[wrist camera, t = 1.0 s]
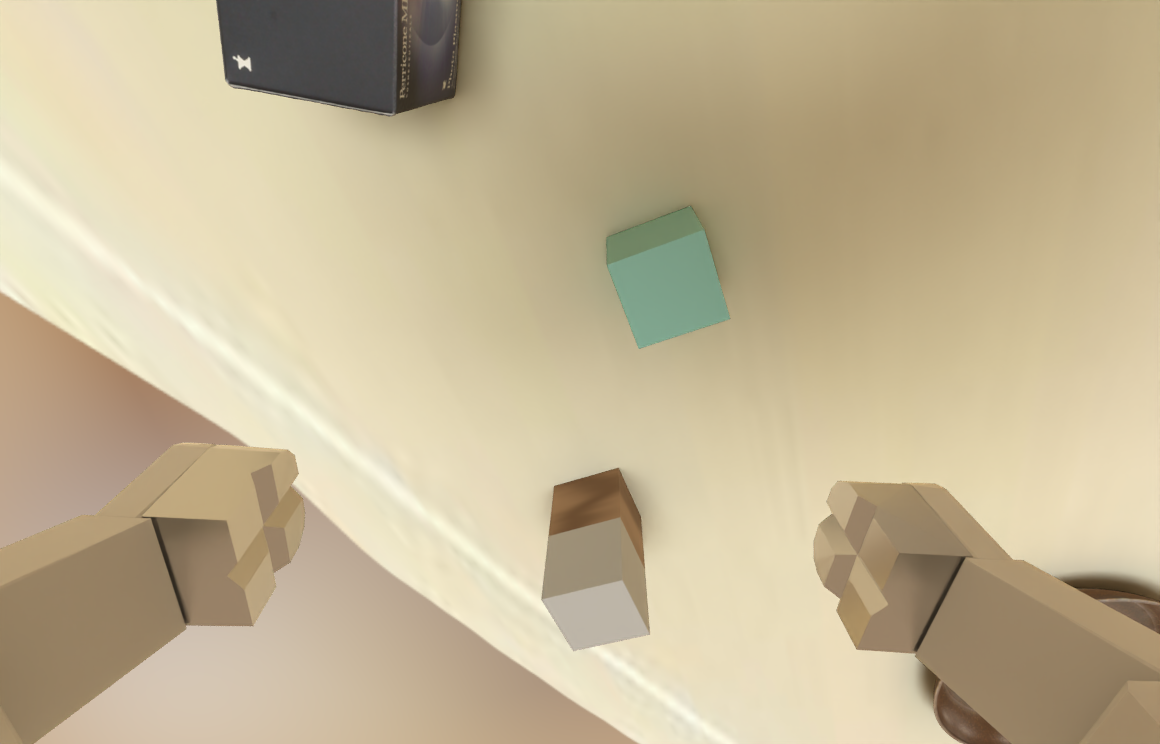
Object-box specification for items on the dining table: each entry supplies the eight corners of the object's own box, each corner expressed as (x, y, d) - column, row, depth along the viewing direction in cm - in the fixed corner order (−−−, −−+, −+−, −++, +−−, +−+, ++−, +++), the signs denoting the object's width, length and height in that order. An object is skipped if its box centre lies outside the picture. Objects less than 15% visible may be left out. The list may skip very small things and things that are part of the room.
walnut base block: (618, 467, 41) (620, 517, 37) (640, 516, 43) (644, 569, 39) (554, 486, 42) (548, 536, 38) (579, 533, 44) (576, 585, 40)
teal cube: (690, 205, 32) (704, 229, 28) (714, 285, 34) (730, 318, 30) (606, 237, 33) (606, 265, 29) (634, 312, 35) (638, 348, 31)
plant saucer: (1226, 564, 44) (1270, 600, 41) (1119, 719, 54) (1149, 757, 51) (947, 569, 45) (971, 604, 42) (893, 720, 55) (910, 757, 52)
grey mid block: (620, 517, 37) (622, 580, 32) (644, 569, 39) (649, 634, 35) (548, 536, 38) (541, 599, 33) (576, 585, 40) (573, 650, 36)
